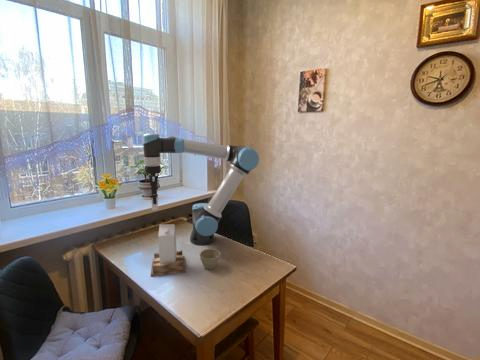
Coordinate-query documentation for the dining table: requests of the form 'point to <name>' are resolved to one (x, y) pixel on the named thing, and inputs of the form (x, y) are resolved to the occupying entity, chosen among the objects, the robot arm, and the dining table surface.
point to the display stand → (168, 265)
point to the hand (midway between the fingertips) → (154, 205)
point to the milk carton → (167, 244)
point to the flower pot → (210, 258)
